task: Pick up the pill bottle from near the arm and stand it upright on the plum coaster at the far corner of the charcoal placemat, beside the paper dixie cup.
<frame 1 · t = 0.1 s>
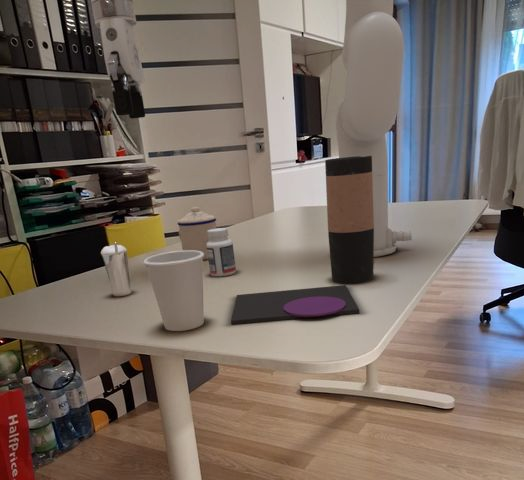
hand: (131, 116, 102), 31 cm above the table, tool pointing down, fingers open, 9 cm apart
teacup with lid: (198, 257, 126), on the table
placemat: (292, 305, 80), on the table
dixie cup: (184, 325, 76), on the table
travel mug: (352, 280, 91), on the table
pill bottle: (223, 274, 105), on the table
milkshake: (123, 295, 97), on the table
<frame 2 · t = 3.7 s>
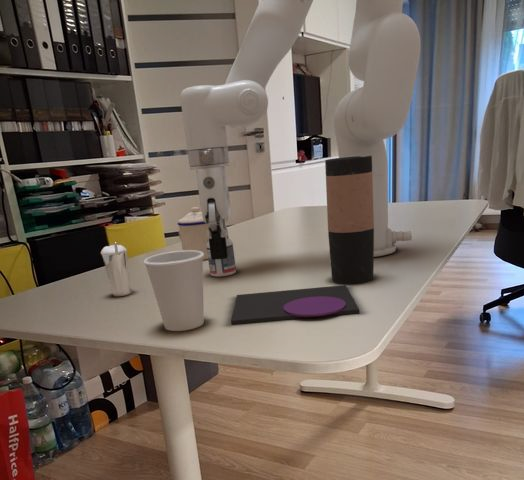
hand: (220, 254, 104), 4 cm above the table, tool pointing down, fingers closed on pill bottle, 5 cm apart
pill bottle: (223, 274, 105), on the table, touching gripper
everything else where it was.
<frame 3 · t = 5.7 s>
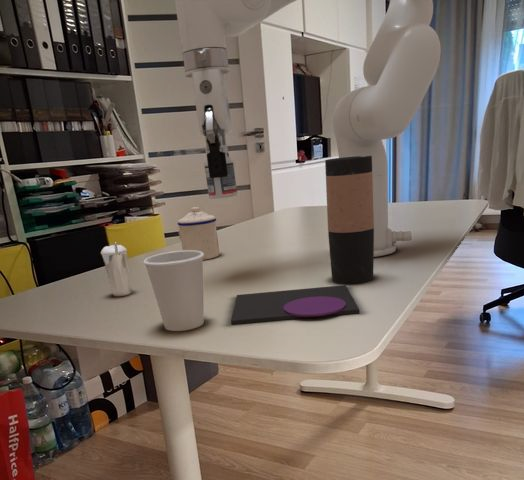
hand: (220, 175, 95), 19 cm above the table, tool pointing down, fingers closed on pill bottle, 5 cm apart
pill bottle: (223, 198, 97), point 15 cm above the table, touching gripper
everything else where it was.
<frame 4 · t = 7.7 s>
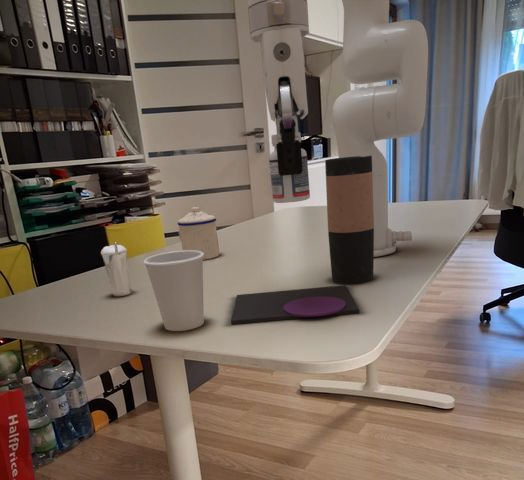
hand: (289, 172, 73), 19 cm above the table, tool pointing down, fingers closed on pill bottle, 5 cm apart
pill bottle: (291, 202, 74), point 15 cm above the table, touching gripper
everything else where it was.
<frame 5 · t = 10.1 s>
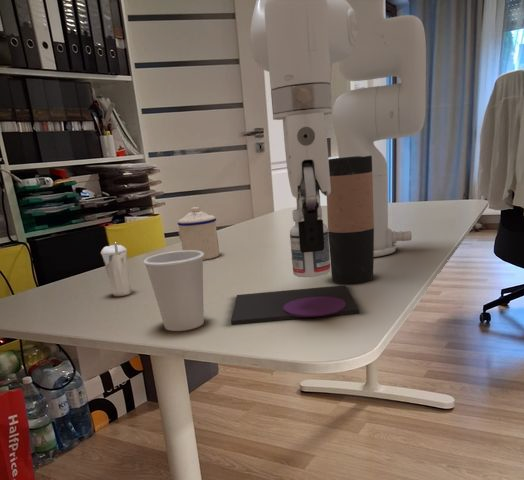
hand: (310, 246, 72), 9 cm above the table, tool pointing down, fingers closed on pill bottle, 5 cm apart
pill bottle: (311, 274, 74), point 5 cm above the table, touching gripper
everything else where it was.
when the fingers open (5 cm above the table, at t = 11.7 s): pill bottle stays where it is, resting on placemat.
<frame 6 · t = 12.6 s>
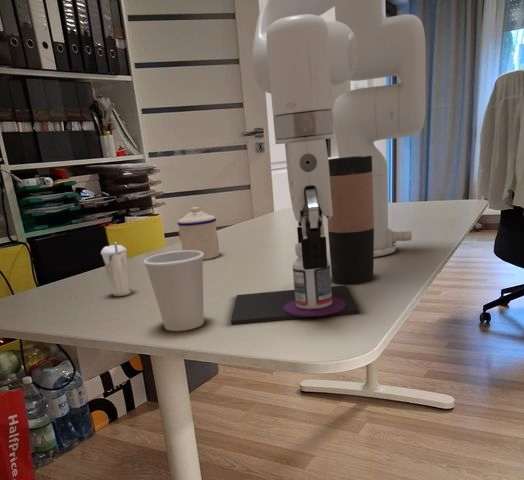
hand: (312, 260, 74), 7 cm above the table, tool pointing down, fingers open, 9 cm apart
pill bottle: (313, 306, 75), point 1 cm above the table, touching placemat
everything else where it was.
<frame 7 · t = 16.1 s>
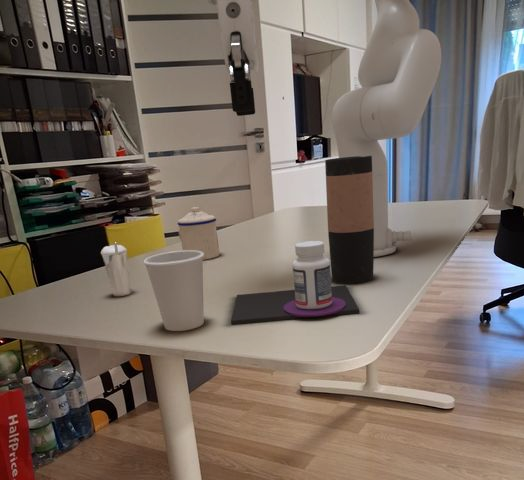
hand: (244, 113, 84), 28 cm above the table, tool pointing down, fingers open, 9 cm apart
nothing on the table moved.
at the end: pill bottle 0.1 cm from the target spot on the placemat, point 0.7 cm above the placemat's base; pill bottle tilted 0°; the gripper is holding nothing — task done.
